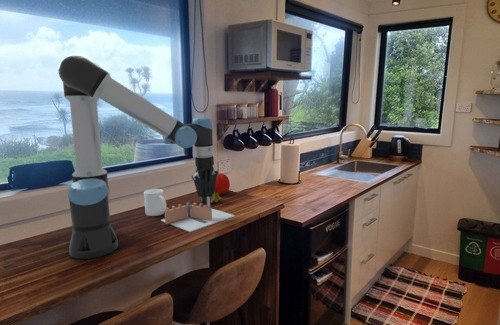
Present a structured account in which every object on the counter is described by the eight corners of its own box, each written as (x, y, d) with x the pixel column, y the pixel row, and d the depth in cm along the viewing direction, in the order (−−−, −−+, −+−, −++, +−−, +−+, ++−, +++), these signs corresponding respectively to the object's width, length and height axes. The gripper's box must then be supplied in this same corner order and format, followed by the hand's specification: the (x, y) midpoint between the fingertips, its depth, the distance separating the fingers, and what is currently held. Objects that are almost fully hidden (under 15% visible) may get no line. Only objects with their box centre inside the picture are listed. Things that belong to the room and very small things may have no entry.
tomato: (234, 194, 184) (233, 173, 182) (210, 199, 177) (209, 176, 175) (222, 189, 195) (222, 169, 193) (199, 193, 188) (198, 172, 186)
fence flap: (189, 217, 147) (189, 203, 146) (192, 215, 149) (191, 201, 148) (210, 220, 143) (209, 205, 142) (212, 219, 144) (211, 204, 143)
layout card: (187, 232, 131) (187, 231, 131) (158, 221, 145) (158, 220, 145) (235, 216, 149) (235, 215, 149) (205, 207, 163) (205, 206, 163)
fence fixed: (167, 225, 140) (166, 208, 139) (165, 224, 141) (164, 208, 140) (191, 217, 149) (190, 202, 148) (189, 217, 150) (188, 201, 149)
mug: (173, 214, 154) (172, 191, 153) (158, 219, 148) (156, 195, 146) (156, 209, 162) (155, 188, 160) (141, 214, 155) (139, 191, 154)
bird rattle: (214, 209, 167) (223, 197, 174) (207, 190, 162) (217, 179, 168) (204, 207, 171) (213, 196, 177) (197, 189, 165) (207, 178, 171)
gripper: (198, 159, 134) (201, 217, 139) (221, 154, 144) (224, 209, 148) (186, 157, 139) (189, 214, 143) (209, 153, 148) (211, 206, 153)
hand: (207, 211), depth 146 cm, fingers closed
